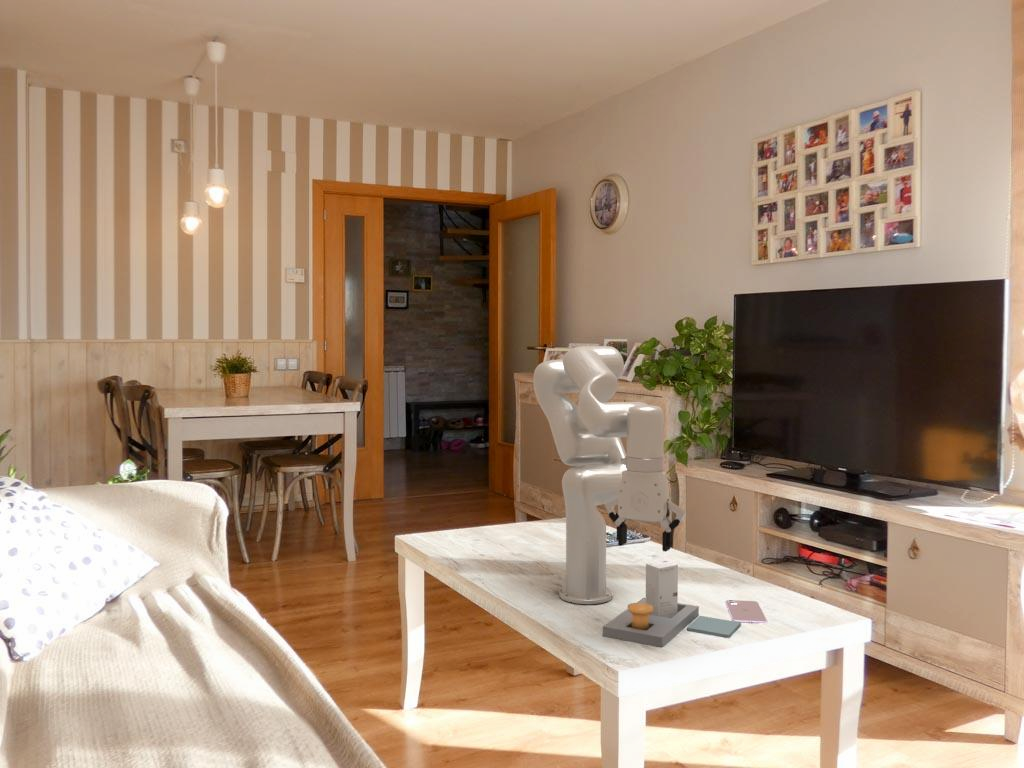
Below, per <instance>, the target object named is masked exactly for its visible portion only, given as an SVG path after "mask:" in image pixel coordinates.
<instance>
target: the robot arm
mask: <svg viewBox="0 0 1024 768" xmlns="http://www.w3.org/2000/svg"><path fill="white" fill-rule="evenodd" d="M624 363H625V362H624V358H623V355H622V354H621V352H620V351H619V350H618V349H617V348H615V347H613V346H610V345H582V346H581V345H580V346H575V347H573V348H570V349H569V350H568V351H567V352H566V353H565V354H564V356H563V358H562V359H561V358H560V359H550V360H545V361H543V362H541V363H539V364H538V365H537V366H536V368H534V373H533V376H532V377H533V380H532V381H533V390H534V394H535V397H536V400H537V403H538V405H539V407H540V409H542V411H543V412H542V413H544V415H545V417H546V419H547V421H548V424H549V427H550V431H551V434H552V437H553V442H554V444H555V447H556V451H557V453H558V456H559V459H560V460H561V462H562V463H563V464H564V465H567V466H571V467H570V468H568V469H567V470H566V471H565V472H564V474H563V476H562V479H561V489H562V493H563V494H562V495H563V499H564V506H565V507H564V508H565V538H566V539H565V575H564V576H563V575H560V574H553V575H552V579H551V581H552V582H551V584H552V585H554V586H561V589H560V590H559V598H560V599H562V600H563V601H566V602H567V603H571V602H572V604H578V605H598V604H604V603H607V602H609V601H611V600H612V599H613V591H612V590H611V589H609V588H607V524H606V520H605V518H604V516H603V515H602V513H601V512H600V511H599V510H598V508H597V506H602V505H604V507H605V510H606V512H607V514H608V517H609V519H610V520H611V521H612V522H613V523H614V526H615V527H616V541H617V546H620V547H621V546H624V545H626V543H627V542H628V525H627V524H626V521H632V522H633V521H635V522H644V523H654V524H656V523H657V524H658V523H659V524H660V525H661V527H662V528H663V529H664V531H663V532H662V542H661V544H662V545H661V547H662V552H668V551H669V550H671V548H672V547H673V544H674V543H673V542H674V541H673V540H674V537H673V535H674V533H673V532H674V530H675V529H676V528H677V527H678V526H679V525H681V524H682V521H683V519H684V518H685V515H686V514H687V511H686V509H683V508H681V507H680V506H679V505H677V504H676V503H674V502H672V501H671V496H670V486H669V480H668V476H667V472H666V471H664V432H665V431H664V423H665V420H664V419H665V417H664V416H665V415H664V410H663V409H662V407H660V406H659V405H652V404H650V405H649V404H647V403H646V402H643V401H611V402H610V401H609V400H611V399H612V398H613V397H614V395H615V394H616V392H617V389H618V382H619V381H618V380H619V379H620V378H621V377H622V375H623V372H624V368H625V365H624ZM575 393H576V394H579V395H578V399H577V404H576V403H575V402H574V401H573V400H572V399H570V398H569V397H567V395H565V394H575ZM608 401H609V402H608ZM622 438H626V450H625V447H624V444H623V441H622ZM615 506H617V511H616V510H615ZM671 512H672V513H674V514H675V515H676V516H675V518H674V520H671V519H670V516H671Z"/></svg>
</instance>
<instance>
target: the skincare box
mask: <svg viewBox="0 0 1024 768" xmlns="http://www.w3.org/2000/svg"><path fill="white" fill-rule="evenodd" d="M678 572H679V567H678V563H676V562H675V563H674V562H670V561H667V560H664V561H657V562H656V561H655V562H651V563H645V598H646V603H647V604H650V605H652V606H653V612H652V613H650V614H649V615H654V616H660V617H666V618H672V617H673V616H675V615H676V614H677V607H678V603H679V602H678V595H679V594H678V589H679V588H678V583H679V582H678V578H679V576H678V575H679V574H678Z"/></svg>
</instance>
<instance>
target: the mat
mask: <svg viewBox="0 0 1024 768" xmlns="http://www.w3.org/2000/svg"><path fill="white" fill-rule="evenodd" d="M741 626H742V623H741V622H735V621H732V620H727V619H722V618H716V617H710V616H704V615H698V616H697V617H696V618H695V619H694V620H693V622H690V623H689V624H688V625H687V626H686V631H689V632H693V633H694V632H695V633H699V634H705V635H710V636H717V637H721V638H728V639H729V638H731V637H732V636H733V634H734V633H735V632H736V631H737V630H738V629H739V628H740V627H741Z"/></svg>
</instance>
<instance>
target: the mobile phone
mask: <svg viewBox="0 0 1024 768" xmlns="http://www.w3.org/2000/svg"><path fill="white" fill-rule="evenodd" d="M724 602H725V606H726V608H727V611H728V613H729V614H728V615H729V616H730V620H731V621H735V622H741V624H745V623H746V624H759V623H766V622H767V623H768V619H767V618H766V616H765V614H764V612H763V609H762V608H761V606H760V604H759V602H757V601H754V600H740V599H739V600H736V599H728V600H725V601H724ZM750 622H752V623H750ZM767 623H766V624H767Z"/></svg>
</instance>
